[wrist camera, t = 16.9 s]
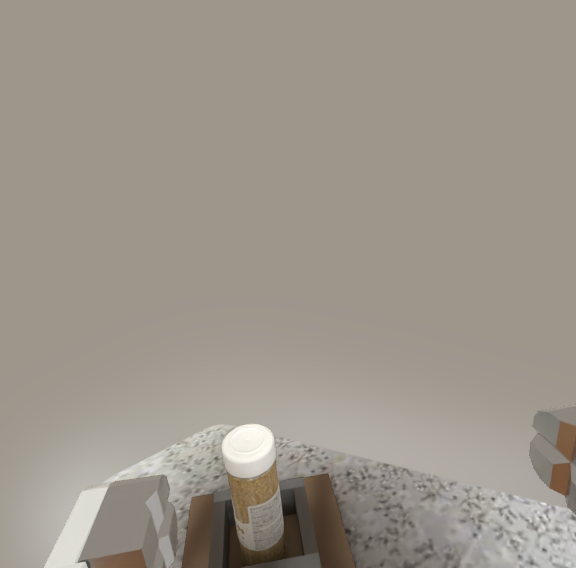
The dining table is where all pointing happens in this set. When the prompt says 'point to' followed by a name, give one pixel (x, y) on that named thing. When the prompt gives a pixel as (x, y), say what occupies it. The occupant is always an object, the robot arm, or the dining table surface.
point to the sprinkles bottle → (255, 493)
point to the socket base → (297, 529)
